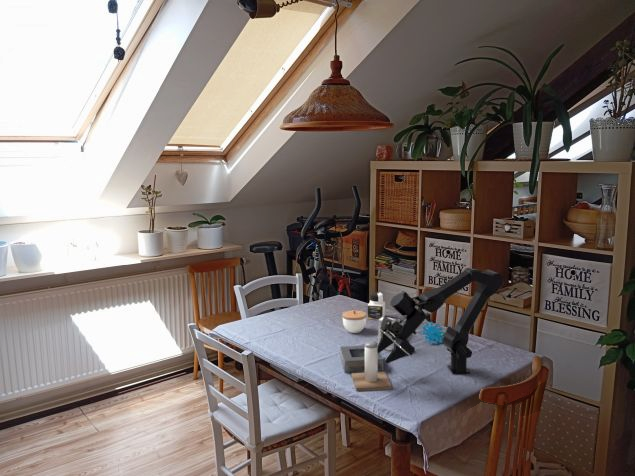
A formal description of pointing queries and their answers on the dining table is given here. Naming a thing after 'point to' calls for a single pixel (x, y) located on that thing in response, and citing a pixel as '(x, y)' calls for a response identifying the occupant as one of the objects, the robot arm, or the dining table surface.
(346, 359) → the collar
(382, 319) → the skincare box
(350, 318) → the lidded jar
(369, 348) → the dome-capped cylinder
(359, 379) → the pad
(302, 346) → the dining table surface
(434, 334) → the blue fuzzy rounded lump
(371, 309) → the medicine bottle
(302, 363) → the dining table surface
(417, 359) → the dining table surface
